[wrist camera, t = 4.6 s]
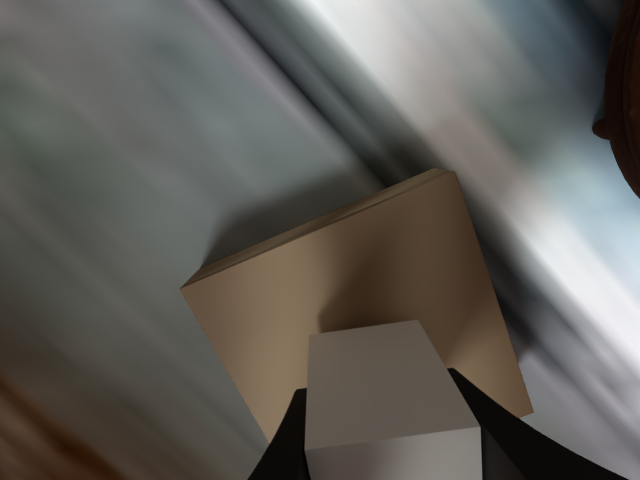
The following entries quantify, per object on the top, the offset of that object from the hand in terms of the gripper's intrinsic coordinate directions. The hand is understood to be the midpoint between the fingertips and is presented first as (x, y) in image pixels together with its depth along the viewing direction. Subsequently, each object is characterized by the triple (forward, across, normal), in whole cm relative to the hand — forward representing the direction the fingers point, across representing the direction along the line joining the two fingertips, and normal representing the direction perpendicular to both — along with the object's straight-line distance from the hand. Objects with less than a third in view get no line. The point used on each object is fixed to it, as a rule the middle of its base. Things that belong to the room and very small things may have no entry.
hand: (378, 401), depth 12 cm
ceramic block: (+2, 0, +1) cm, 2 cm away
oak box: (+6, 0, 0) cm, 6 cm away
